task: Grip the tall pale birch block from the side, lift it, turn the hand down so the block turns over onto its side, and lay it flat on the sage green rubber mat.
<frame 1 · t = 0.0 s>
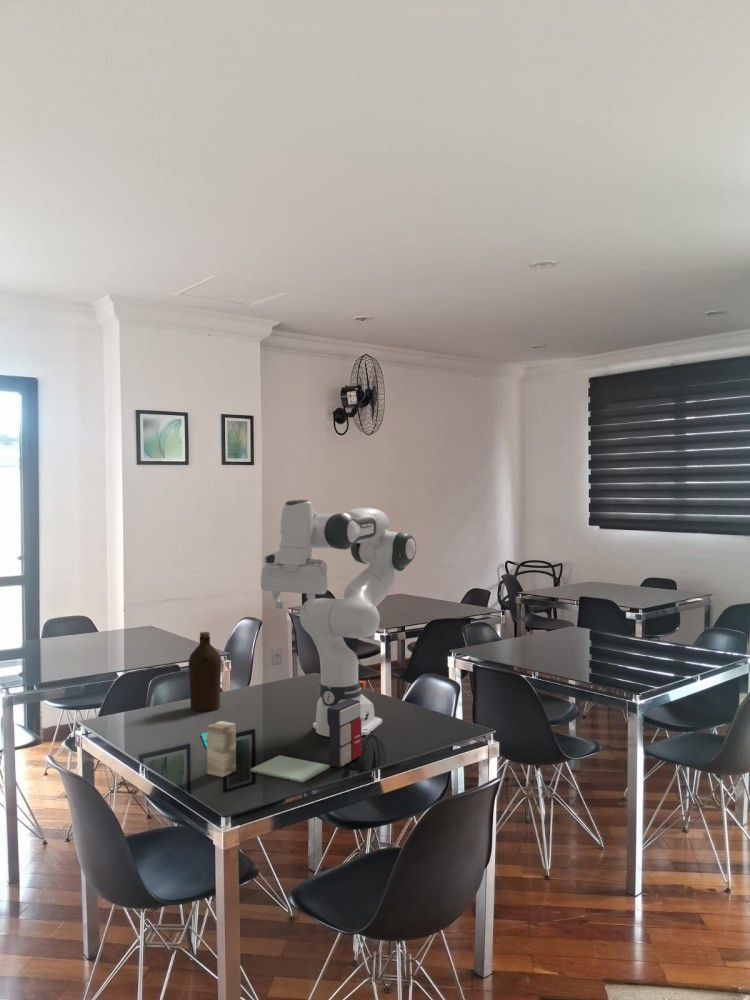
hand: (292, 609, 211), 39 cm above the table, tool pointing down, fingers open, 8 cm apart
rubber mat: (290, 769, 199), on the table
dark grey box: (345, 762, 204), on the table
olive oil: (205, 708, 258), on the table
handheld gaming console: (218, 741, 224), on the table
birch block: (221, 772, 197), on the table
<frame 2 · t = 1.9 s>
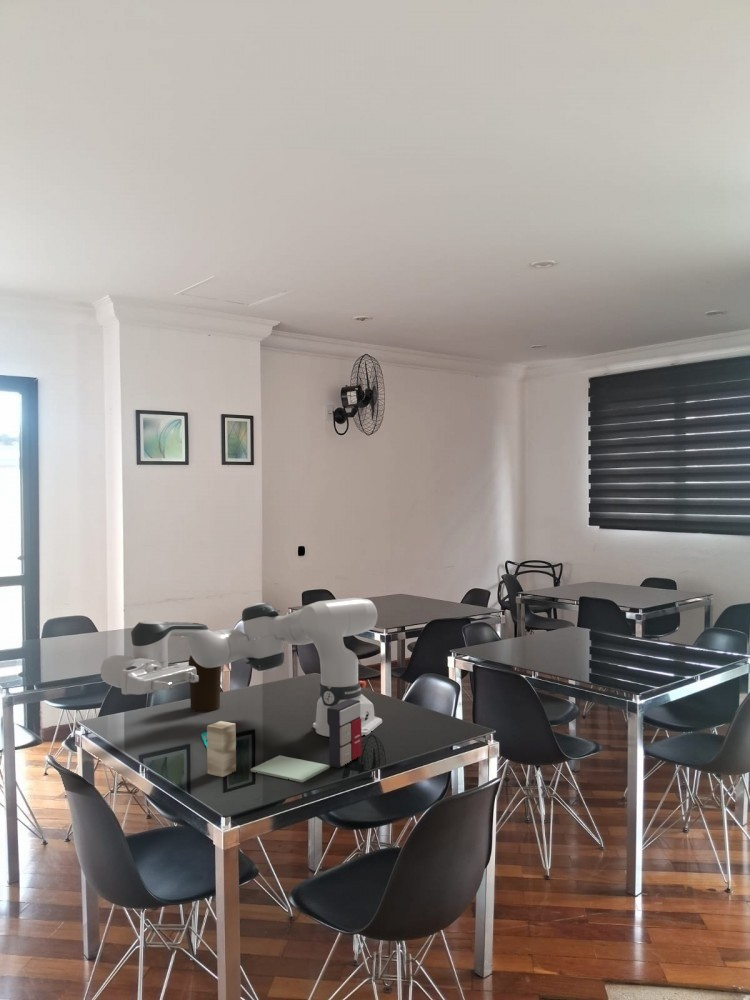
hand: (183, 682, 204), 21 cm above the table, tool horizontal, fingers open, 8 cm apart
nothing on the table moved.
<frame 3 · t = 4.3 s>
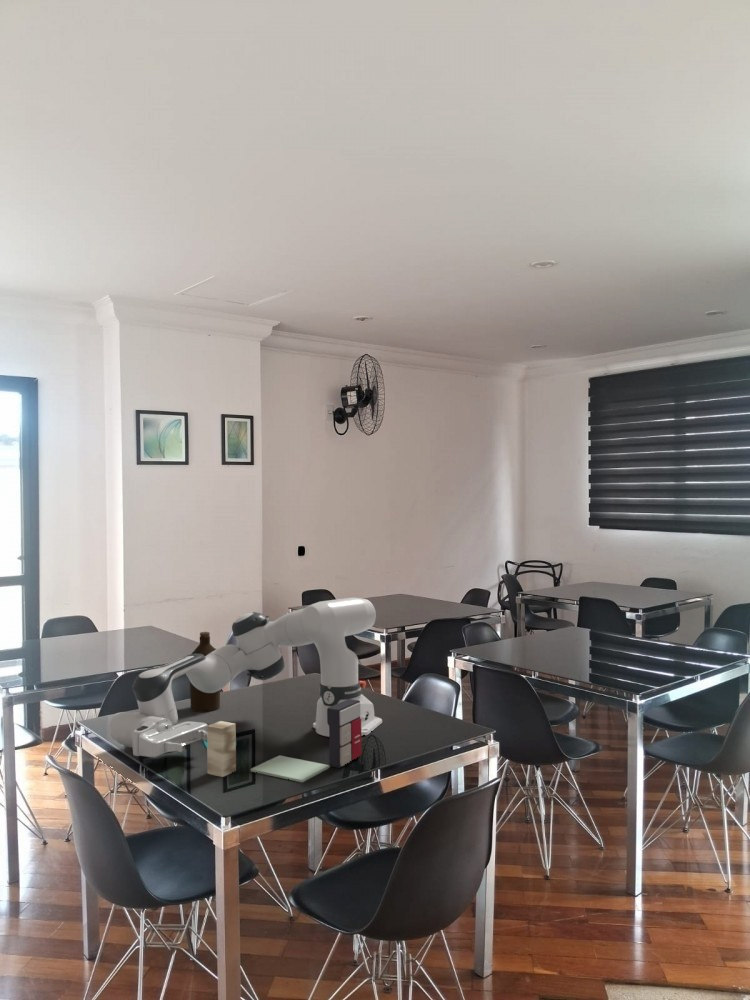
hand: (196, 742, 201), 6 cm above the table, tool horizontal, fingers open, 8 cm apart
nothing on the table moved.
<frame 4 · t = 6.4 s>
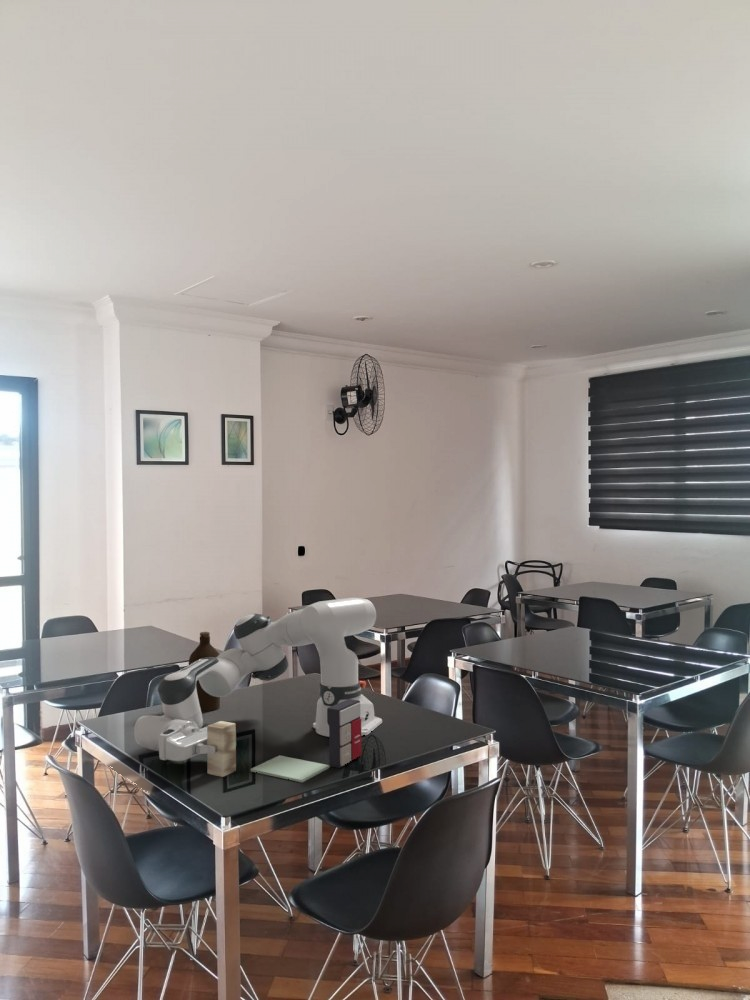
hand: (224, 746, 197), 7 cm above the table, tool horizontal, fingers closed on birch block, 5 cm apart
birch block: (221, 772, 197), on the table, touching gripper
everything else where it was.
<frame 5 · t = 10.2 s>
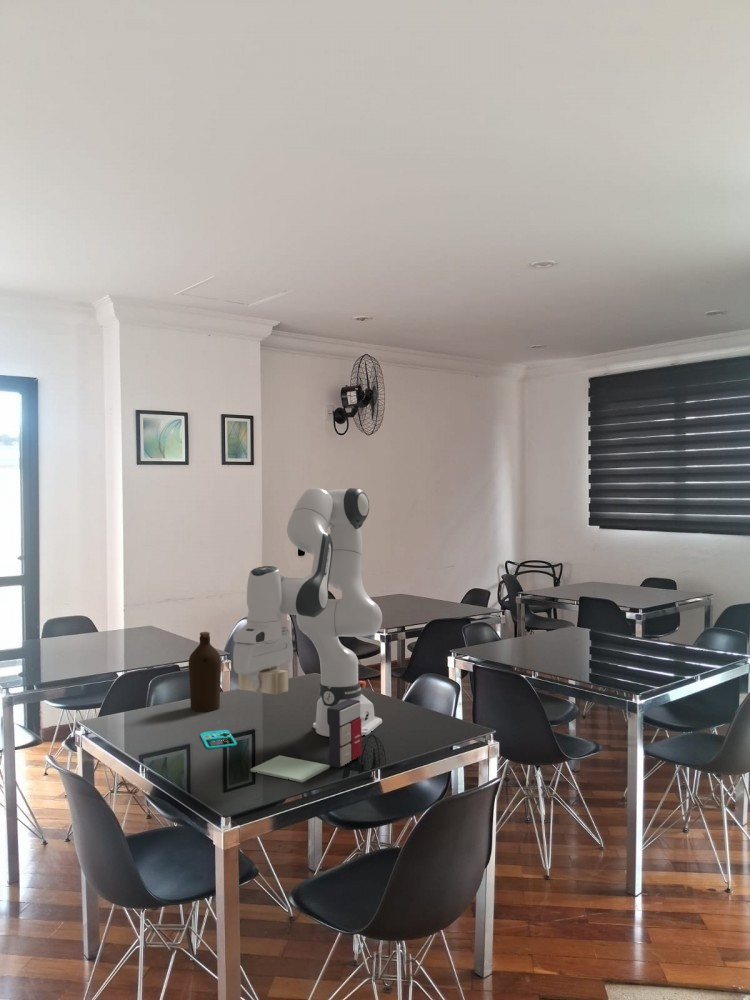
hand: (264, 685, 197), 22 cm above the table, tool pointing down, fingers closed on birch block, 5 cm apart
birch block: (244, 677, 201), point 23 cm above the table, tilted 90°, touching gripper
everything else where it was.
when the fingers open (4 cm above the table, at t = 14.3 s): birch block drops 2 cm, resting on rubber mat.
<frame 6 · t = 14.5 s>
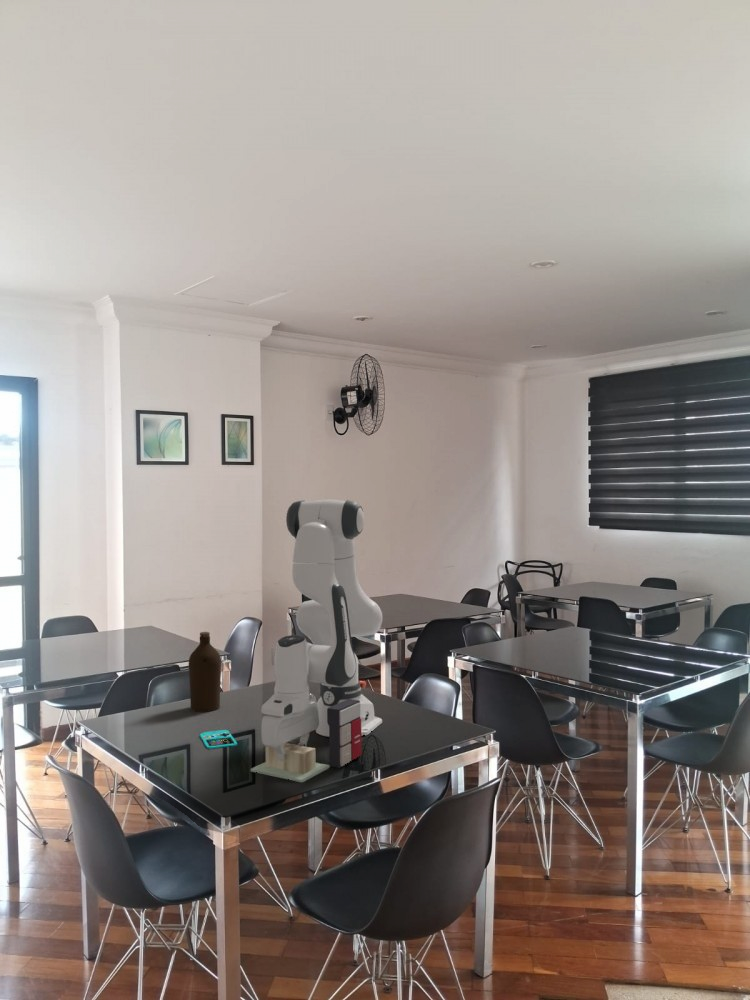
hand: (292, 755, 198), 4 cm above the table, tool pointing down, fingers open, 7 cm apart
birch block: (271, 753, 202), point 3 cm above the table, tilted 90°, touching rubber mat
everything else where it was.
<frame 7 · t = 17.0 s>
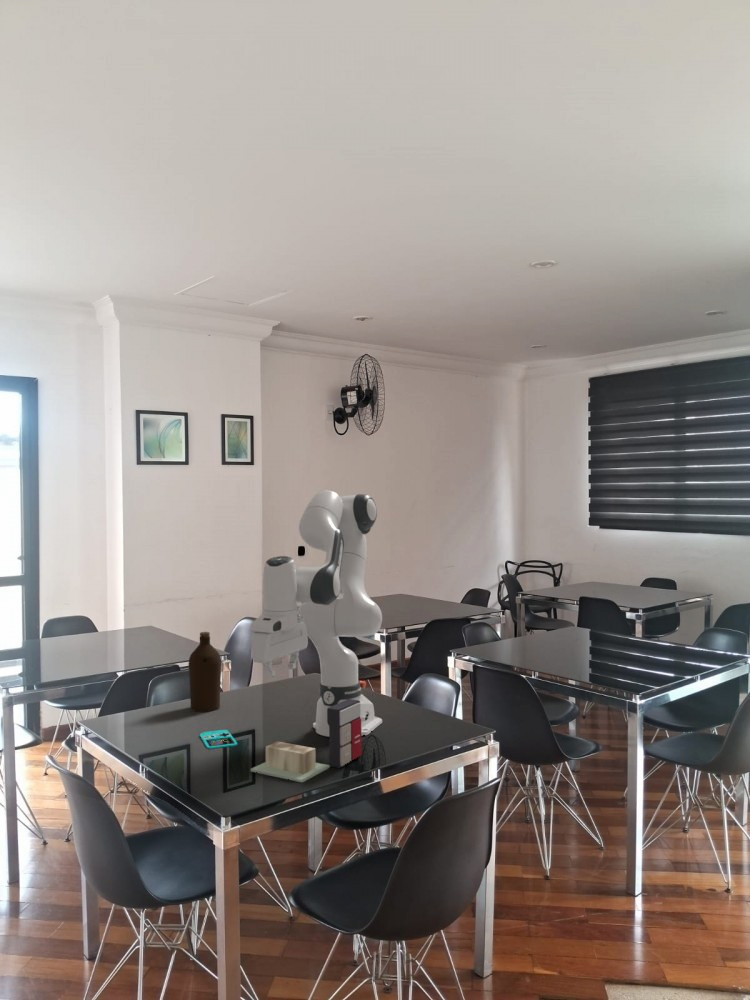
hand: (281, 672, 203), 24 cm above the table, tool pointing down, fingers open, 8 cm apart
nothing on the table moved.
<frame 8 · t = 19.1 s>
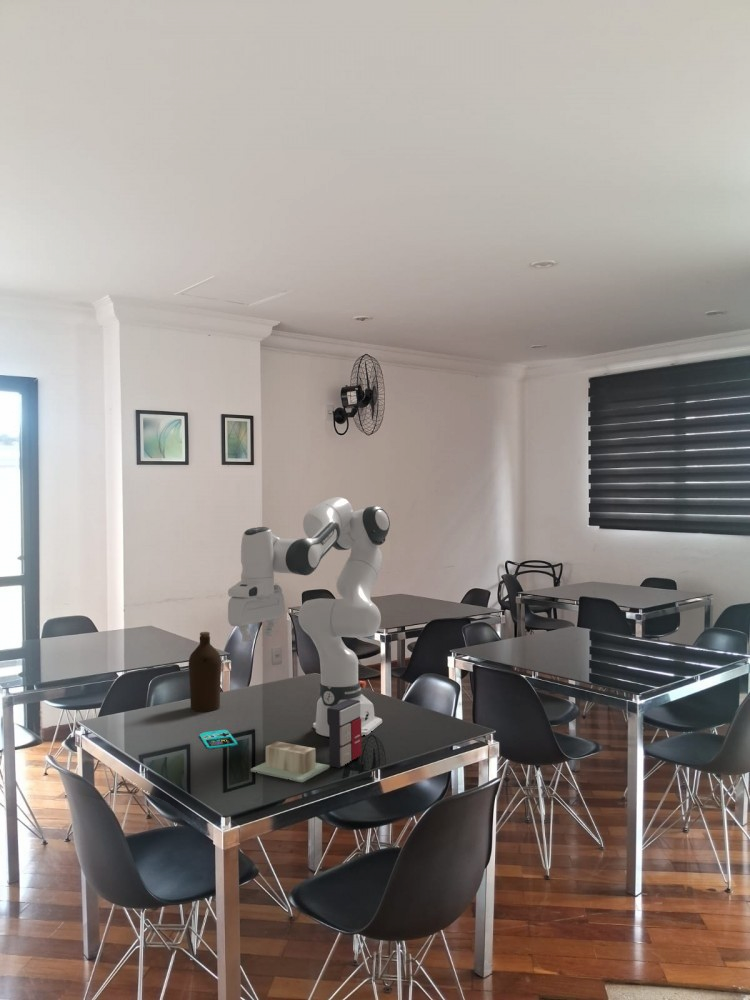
hand: (258, 638, 211), 31 cm above the table, tool pointing down, fingers open, 8 cm apart
nothing on the table moved.
at the end: birch block inside the target area on the rubber mat (5.9 cm from its centre), point 3.1 cm above the rubber mat's base; birch block tilted 90°; the gripper is holding nothing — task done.
